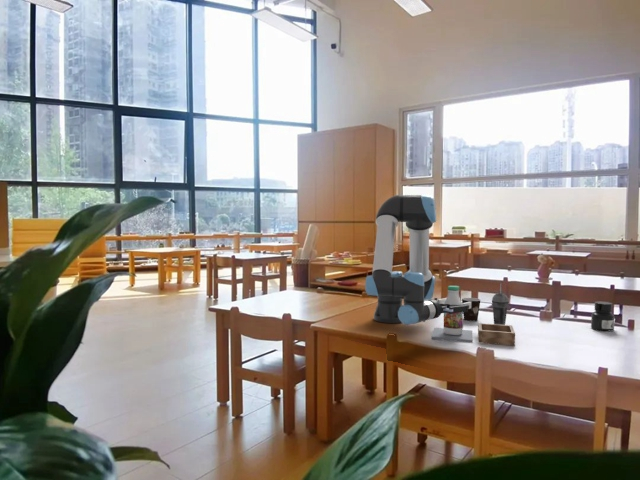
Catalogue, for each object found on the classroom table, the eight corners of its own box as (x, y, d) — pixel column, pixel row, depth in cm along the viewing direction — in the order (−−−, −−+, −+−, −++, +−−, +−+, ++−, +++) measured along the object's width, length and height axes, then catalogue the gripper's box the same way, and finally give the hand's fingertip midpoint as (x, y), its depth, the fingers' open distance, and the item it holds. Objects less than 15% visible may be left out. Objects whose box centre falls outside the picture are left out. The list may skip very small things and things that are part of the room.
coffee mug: (477, 317, 232) (478, 297, 232) (481, 322, 224) (482, 301, 223) (453, 317, 234) (454, 297, 233) (456, 321, 225) (457, 300, 224)
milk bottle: (440, 331, 201) (441, 285, 201) (458, 331, 202) (458, 284, 201) (447, 335, 194) (447, 287, 193) (465, 335, 194) (466, 287, 194)
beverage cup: (507, 325, 217) (508, 282, 216) (508, 329, 210) (509, 284, 209) (490, 324, 220) (492, 281, 218) (491, 327, 213) (492, 283, 212)
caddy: (478, 342, 188) (478, 330, 187) (477, 334, 201) (478, 323, 200) (514, 345, 184) (515, 333, 183) (511, 337, 196) (512, 325, 196)
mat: (431, 339, 193) (431, 336, 193) (434, 329, 208) (434, 327, 208) (472, 342, 188) (472, 340, 188) (472, 332, 203) (472, 330, 203)
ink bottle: (607, 332, 205) (608, 305, 204) (586, 328, 212) (587, 302, 212) (618, 329, 210) (619, 303, 210) (597, 325, 218) (598, 300, 217)
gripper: (404, 314, 194) (435, 307, 209) (454, 324, 177) (483, 316, 192) (404, 296, 193) (435, 290, 208) (454, 304, 177) (483, 298, 191)
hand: (458, 302), depth 200 cm, fingers open, 10 cm apart
